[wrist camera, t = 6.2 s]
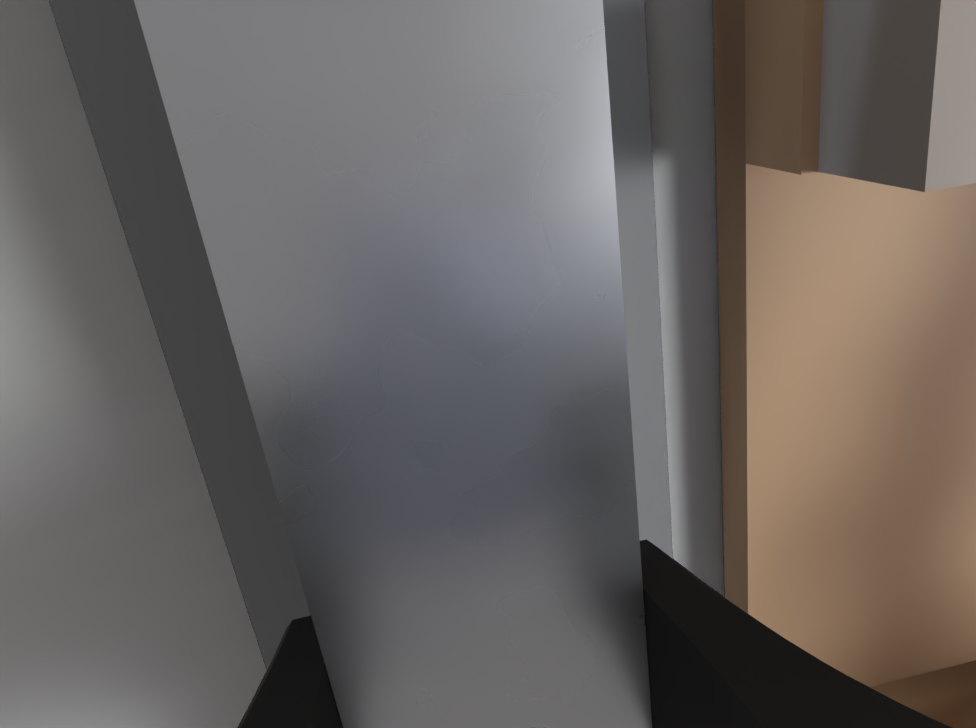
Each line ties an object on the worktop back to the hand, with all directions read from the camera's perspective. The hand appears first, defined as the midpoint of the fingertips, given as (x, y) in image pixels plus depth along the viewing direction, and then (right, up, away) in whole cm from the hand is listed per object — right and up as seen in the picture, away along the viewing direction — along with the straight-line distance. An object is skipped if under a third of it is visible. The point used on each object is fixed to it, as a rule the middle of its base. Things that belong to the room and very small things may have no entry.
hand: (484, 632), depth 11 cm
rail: (0, +1, +2) cm, 3 cm away
